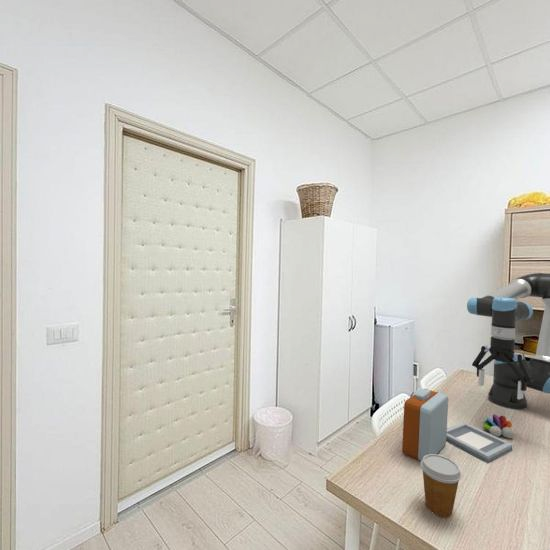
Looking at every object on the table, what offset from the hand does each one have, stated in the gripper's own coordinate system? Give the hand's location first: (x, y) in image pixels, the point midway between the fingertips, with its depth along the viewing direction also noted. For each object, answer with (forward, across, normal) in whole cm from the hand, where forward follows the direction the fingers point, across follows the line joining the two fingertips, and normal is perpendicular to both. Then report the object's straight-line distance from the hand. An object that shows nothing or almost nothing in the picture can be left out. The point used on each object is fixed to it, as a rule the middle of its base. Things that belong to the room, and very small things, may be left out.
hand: (499, 391), depth 121 cm
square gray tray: (+16, 0, -16) cm, 23 cm away
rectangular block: (+17, -6, -36) cm, 40 cm away
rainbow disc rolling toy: (+17, 0, 0) cm, 17 cm away
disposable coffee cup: (+17, +13, -57) cm, 61 cm away
